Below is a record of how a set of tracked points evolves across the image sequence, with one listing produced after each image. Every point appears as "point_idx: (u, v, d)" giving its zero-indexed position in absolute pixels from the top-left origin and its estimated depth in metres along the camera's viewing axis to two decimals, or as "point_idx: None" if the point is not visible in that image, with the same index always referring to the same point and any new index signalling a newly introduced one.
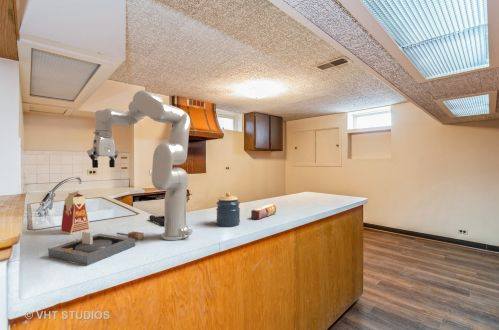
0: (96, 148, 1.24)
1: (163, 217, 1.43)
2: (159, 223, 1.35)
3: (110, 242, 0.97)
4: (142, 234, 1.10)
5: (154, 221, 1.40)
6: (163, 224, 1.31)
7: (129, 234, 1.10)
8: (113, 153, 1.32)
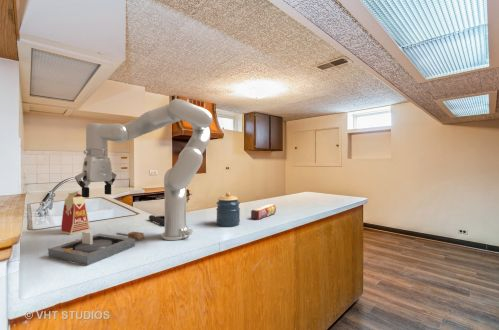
0: (87, 172, 0.96)
1: (163, 217, 1.43)
2: (159, 223, 1.35)
3: (110, 242, 0.97)
4: (142, 234, 1.10)
5: (154, 221, 1.40)
6: (163, 224, 1.32)
7: (129, 234, 1.10)
8: (109, 177, 1.04)
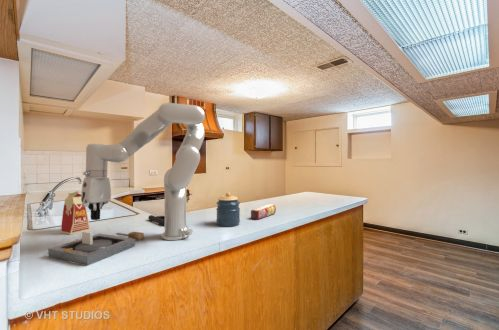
0: (86, 194, 0.96)
1: (162, 217, 1.43)
2: (158, 223, 1.35)
3: (110, 242, 0.97)
4: (142, 234, 1.10)
5: (153, 221, 1.40)
6: (163, 224, 1.32)
7: (129, 234, 1.10)
8: (108, 197, 1.03)
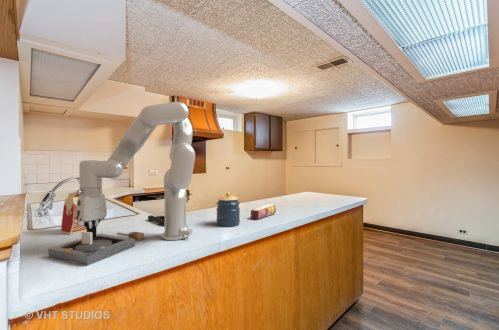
0: (80, 212, 0.94)
1: (162, 217, 1.43)
2: (158, 223, 1.35)
3: (111, 242, 0.97)
4: (142, 234, 1.10)
5: (153, 221, 1.40)
6: (162, 224, 1.32)
7: (129, 234, 1.10)
8: (104, 214, 1.01)
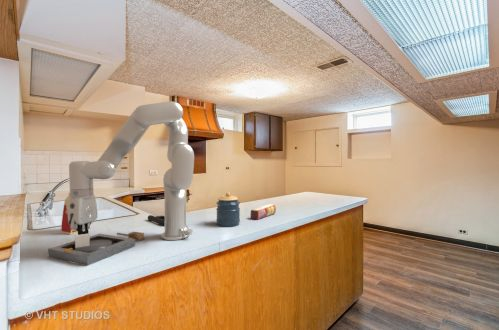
0: (75, 215, 0.90)
1: (162, 217, 1.43)
2: (158, 223, 1.35)
3: (106, 240, 1.00)
4: (142, 234, 1.10)
5: (153, 221, 1.40)
6: (162, 224, 1.32)
7: (129, 234, 1.10)
8: (95, 216, 0.98)
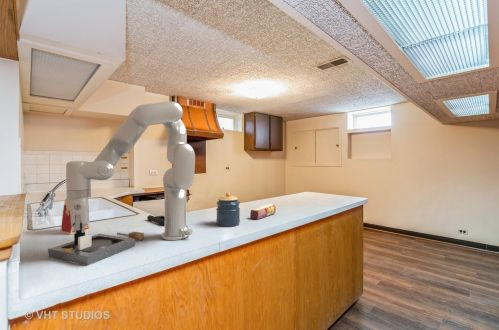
0: (81, 216, 0.88)
1: (161, 217, 1.43)
2: (158, 223, 1.35)
3: (96, 240, 1.00)
4: (142, 234, 1.10)
5: (153, 221, 1.40)
6: (162, 224, 1.32)
7: (129, 234, 1.10)
8: None
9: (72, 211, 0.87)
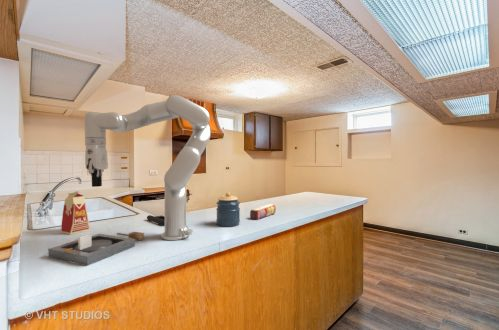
0: (93, 160, 0.99)
1: (161, 217, 1.43)
2: (158, 223, 1.35)
3: (96, 240, 1.00)
4: (143, 234, 1.10)
5: (152, 221, 1.40)
6: (162, 224, 1.32)
7: (130, 234, 1.10)
8: (107, 165, 1.08)
9: (86, 155, 0.99)
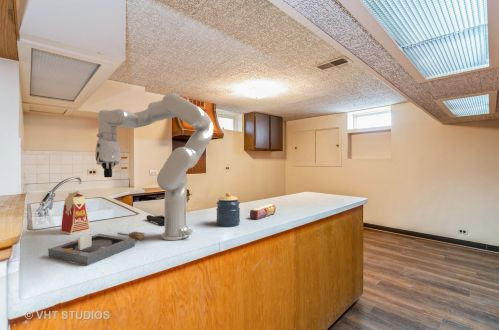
0: (99, 153, 1.10)
1: (161, 217, 1.43)
2: (157, 223, 1.35)
3: (96, 240, 1.00)
4: (143, 234, 1.10)
5: (152, 221, 1.40)
6: (162, 224, 1.32)
7: (130, 234, 1.10)
8: (118, 158, 1.17)
9: (96, 148, 1.11)
